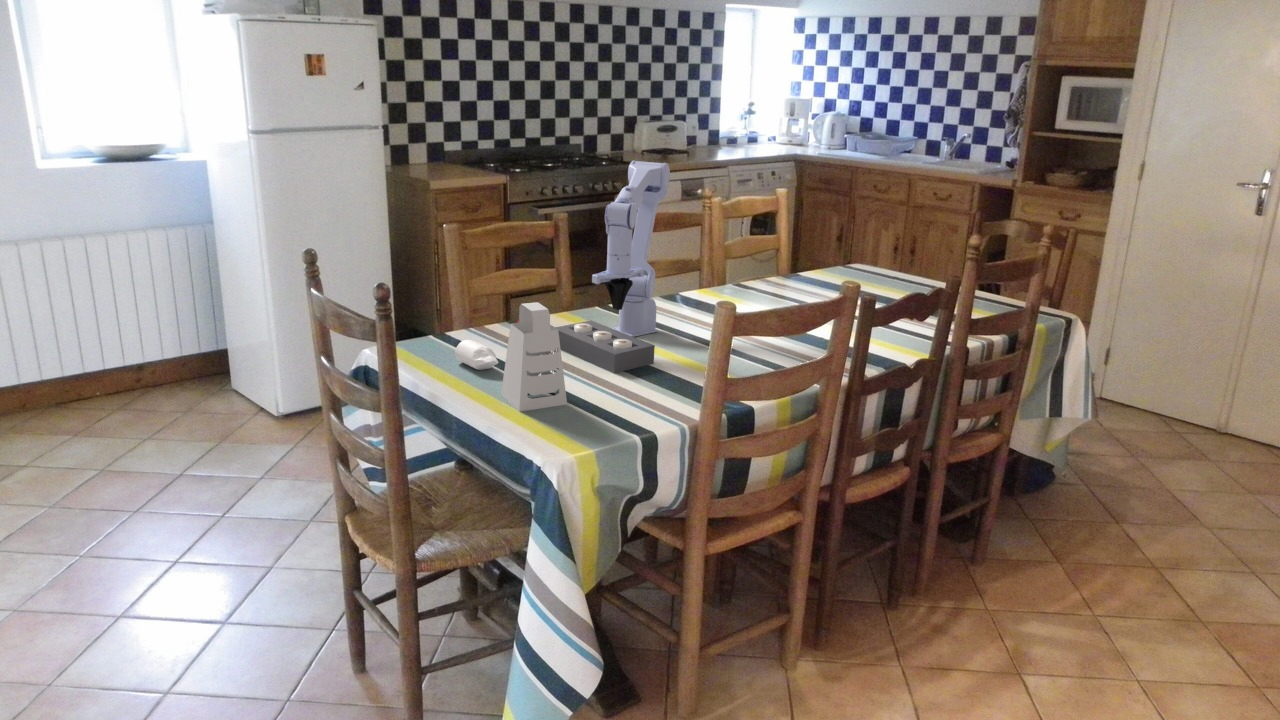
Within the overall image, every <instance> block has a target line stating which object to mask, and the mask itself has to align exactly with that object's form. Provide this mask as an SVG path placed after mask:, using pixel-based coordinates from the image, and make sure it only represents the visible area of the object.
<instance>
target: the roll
mask: <svg viewBox="0 0 1280 720" xmlns="http://www.w3.org/2000/svg"><path fill="white" fill-rule="evenodd" d="M454 355H455V358H456V360H457V361H459V362H461V363H463V364H464V365H467V366H469V367H471V368H472V369H475V370H477V371H483V370H488V369H492V368H493V367H494V366H495V365H498V364H499V361H498V358H497V355H496V353H495V352H494V350H492V348H490V347H488V346H486V345H483V344H482V343H480V342H478V341H474V340H471V339H464V340H462V341H460V342H459V343H458V345H457V346H456V348H455V351H454Z"/></svg>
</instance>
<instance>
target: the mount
mask: <svg viewBox="0 0 1280 720" xmlns="http://www.w3.org/2000/svg"><path fill="white" fill-rule="evenodd" d="M581 323H584V324H590V325H592V331H589V332H585V333H579V332H577V331H574V325H576V324H581ZM554 327H555V326H554ZM555 328H556V329H558V332H559V340H560V349H561V351H563V352H565V353H567V354H570V355H572V356H575V357H576V358H579V359H581V360H584V361H586V362H588V363H590V364H592V365H595V366H596V367H599V368H602V369H603V370H606V371H608V372H610V373H612V374H616V373H617V374H618V373H620V372H624V371H629V370H632V369H637V368H641V367H645V366H649V365H650V366H651V365H654V364H655V347H656V346H655V344H653V343H649V342H647V341H644V340H642V339H640V338H637V337H636V336H635V337H632V336H630V335H627V334H625V333H622V332H620V331H617V330H614V329H612V328H613V327H610V326H606V325H603V324H602V323H600V322H597V321H594V320H591V319H590V320H586V321H582V322H575V323H571V324H565V325H562V326H556V327H555ZM597 331H606V332H610V333H611V334H612V339H609V340H604V341H599V340H596V339H594V338H593V333H594V332H597ZM617 339H626V340H630V341H632V347H631V348H626V349H622V350H620V349H618V348H616V347H613V341H614V340H617Z"/></svg>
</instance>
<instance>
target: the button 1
mask: <svg viewBox="0 0 1280 720" xmlns="http://www.w3.org/2000/svg"><path fill="white" fill-rule="evenodd" d="M574 331H577V332H579V333H585V332H589V331H592V325H590V324H584V323H581V324H576V325H574Z"/></svg>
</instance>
